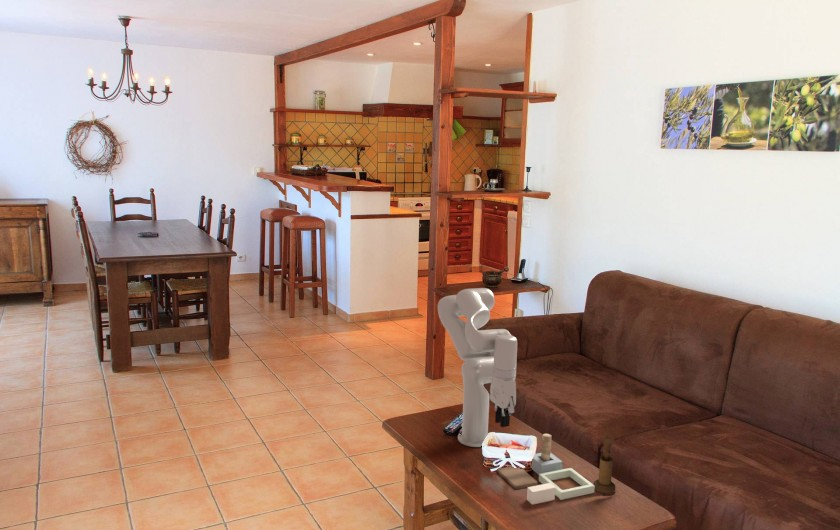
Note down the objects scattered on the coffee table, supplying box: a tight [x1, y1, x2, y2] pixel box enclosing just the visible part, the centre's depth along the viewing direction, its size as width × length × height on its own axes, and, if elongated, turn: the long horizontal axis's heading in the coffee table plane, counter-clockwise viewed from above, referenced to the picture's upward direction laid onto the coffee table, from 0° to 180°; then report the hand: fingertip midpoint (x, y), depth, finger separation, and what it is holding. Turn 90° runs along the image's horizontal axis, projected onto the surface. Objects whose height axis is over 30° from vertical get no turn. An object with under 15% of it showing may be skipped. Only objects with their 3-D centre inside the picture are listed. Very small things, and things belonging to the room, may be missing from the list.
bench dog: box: [526, 483, 556, 505], centre depth 194 cm, size 3×8×5 cm, turn 112°
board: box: [497, 466, 539, 490], centre depth 207 cm, size 12×8×2 cm, turn 22°
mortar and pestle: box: [593, 436, 616, 497], centre depth 201 cm, size 7×6×18 cm
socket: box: [531, 452, 564, 476], centre depth 213 cm, size 8×8×5 cm
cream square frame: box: [538, 467, 595, 501], centre depth 202 cm, size 12×12×3 cm
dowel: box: [540, 433, 552, 462], centre depth 213 cm, size 3×3×12 cm
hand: (502, 423), depth 215 cm, fingers open, 2 cm apart
